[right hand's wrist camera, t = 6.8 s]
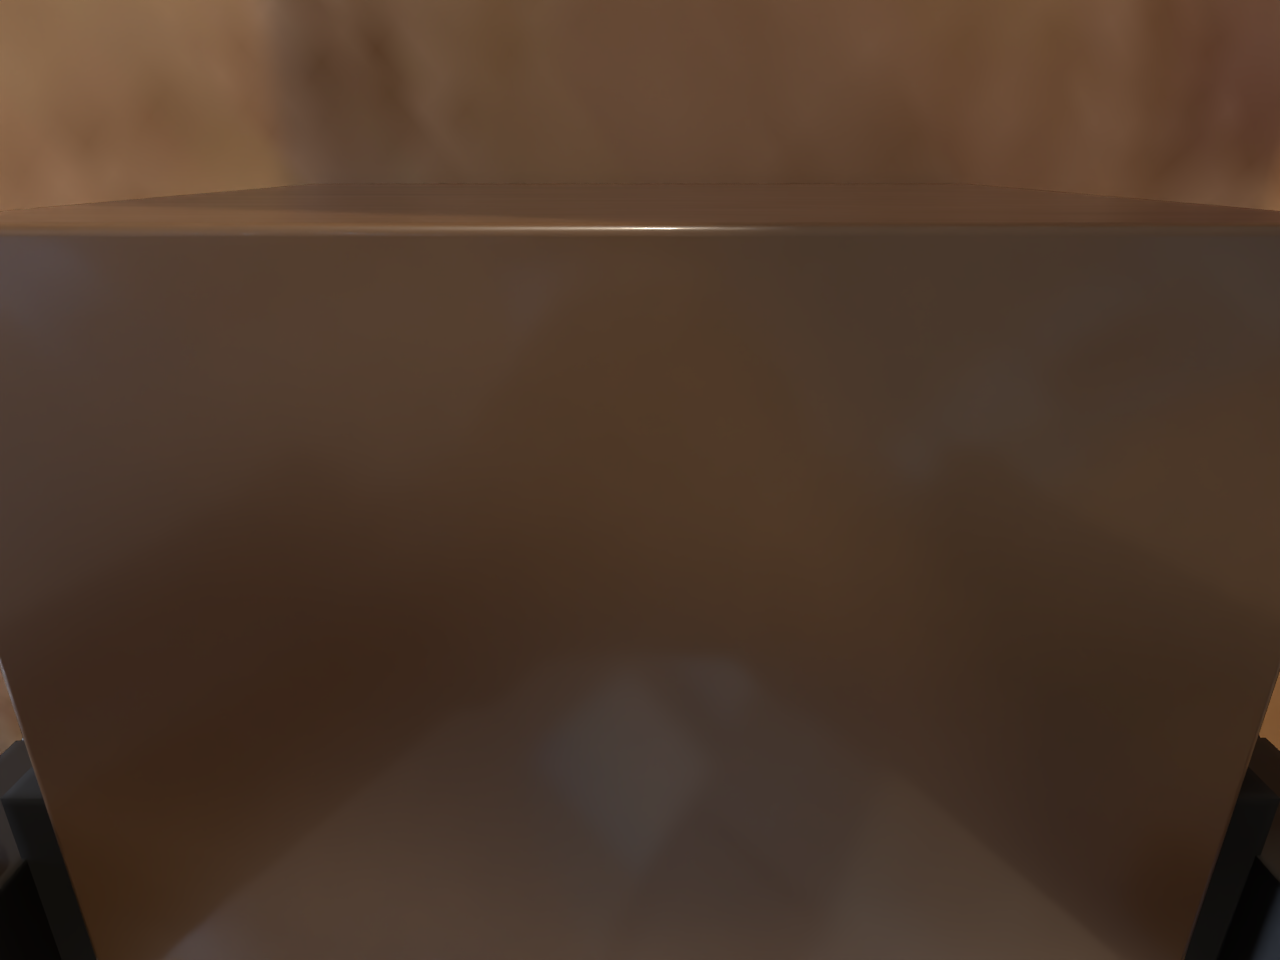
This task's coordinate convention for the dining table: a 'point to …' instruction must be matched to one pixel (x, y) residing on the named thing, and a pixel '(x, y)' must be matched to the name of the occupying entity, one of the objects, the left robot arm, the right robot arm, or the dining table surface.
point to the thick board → (640, 566)
